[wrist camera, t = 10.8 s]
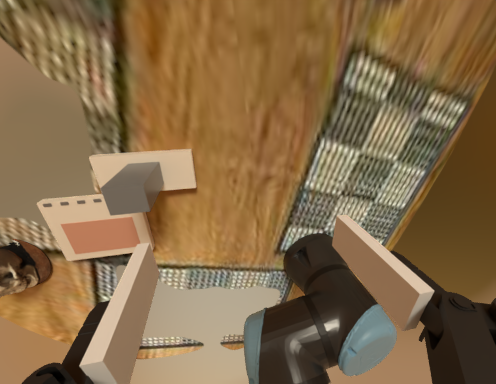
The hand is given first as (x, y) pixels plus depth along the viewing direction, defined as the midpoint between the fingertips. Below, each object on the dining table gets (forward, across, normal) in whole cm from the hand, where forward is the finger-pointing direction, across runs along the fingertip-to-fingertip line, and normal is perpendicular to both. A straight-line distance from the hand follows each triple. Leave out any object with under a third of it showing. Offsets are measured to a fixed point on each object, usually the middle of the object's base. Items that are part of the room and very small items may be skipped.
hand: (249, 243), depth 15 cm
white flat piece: (+26, +24, +12) cm, 38 cm away
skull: (+27, +43, +18) cm, 54 cm away
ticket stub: (+26, +14, +2) cm, 30 cm away
